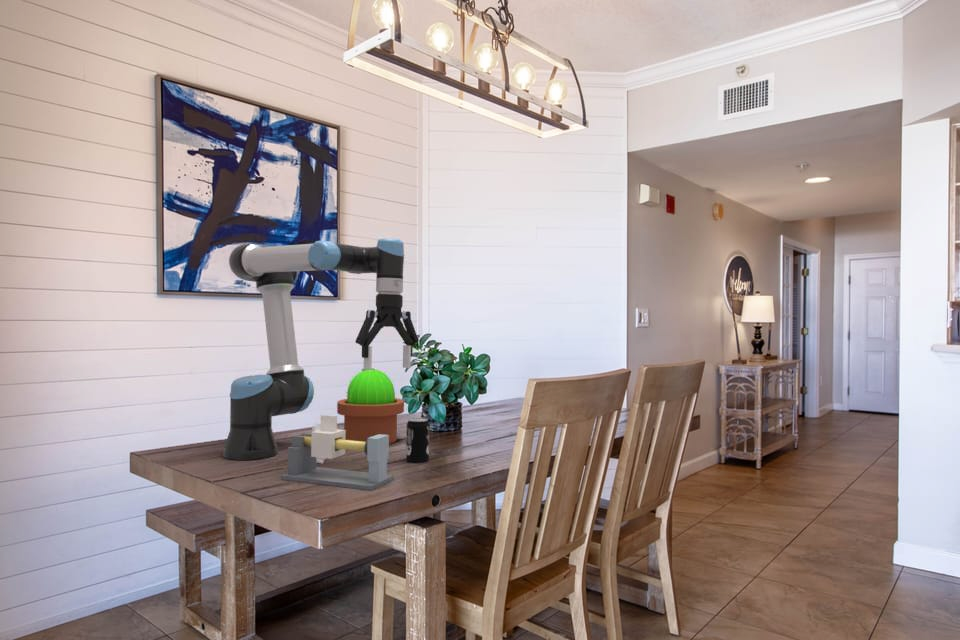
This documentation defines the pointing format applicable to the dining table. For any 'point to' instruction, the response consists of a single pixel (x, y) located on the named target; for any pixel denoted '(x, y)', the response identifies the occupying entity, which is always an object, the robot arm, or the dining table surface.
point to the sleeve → (327, 438)
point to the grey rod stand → (306, 470)
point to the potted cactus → (370, 407)
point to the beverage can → (417, 440)
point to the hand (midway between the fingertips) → (387, 368)
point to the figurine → (315, 428)
